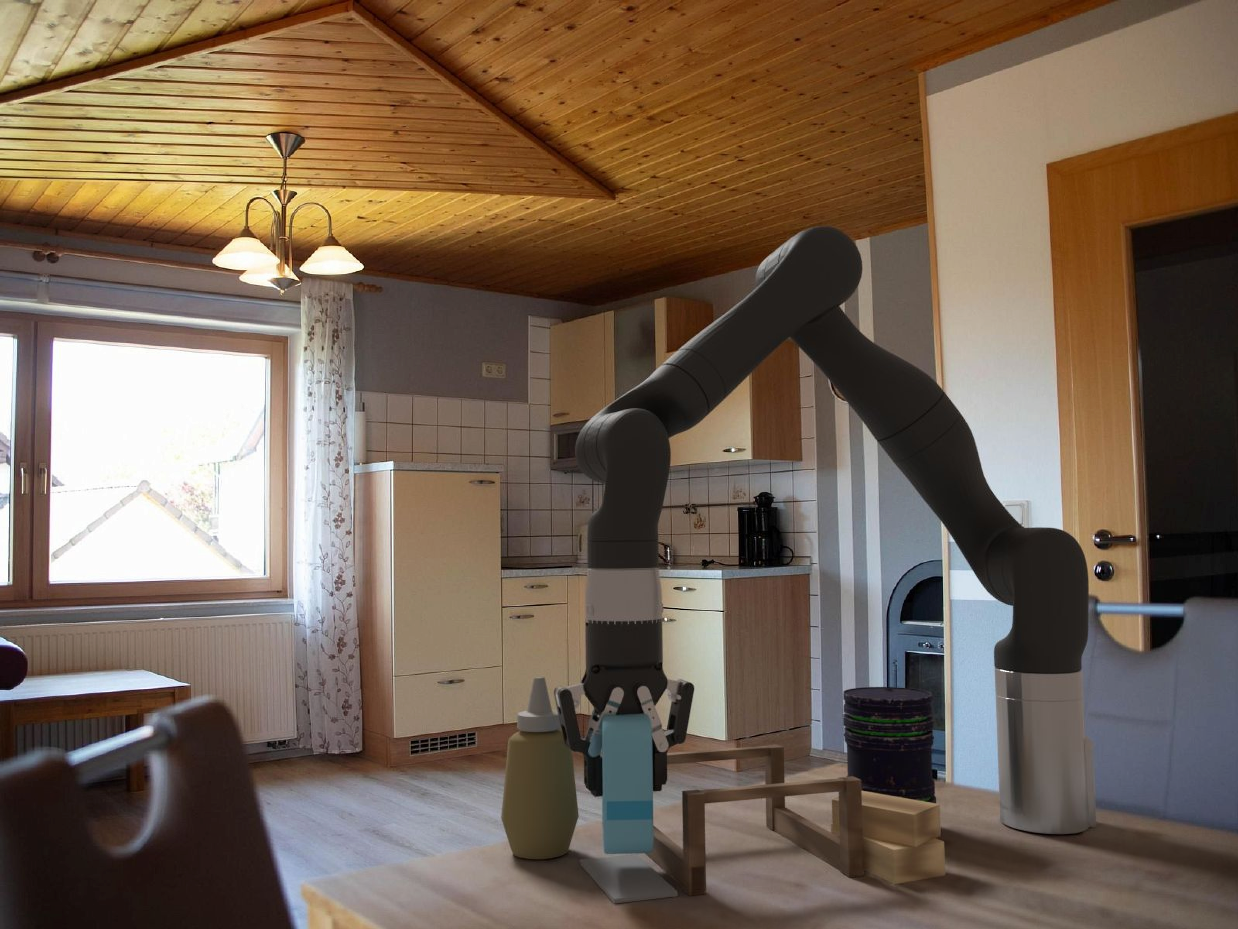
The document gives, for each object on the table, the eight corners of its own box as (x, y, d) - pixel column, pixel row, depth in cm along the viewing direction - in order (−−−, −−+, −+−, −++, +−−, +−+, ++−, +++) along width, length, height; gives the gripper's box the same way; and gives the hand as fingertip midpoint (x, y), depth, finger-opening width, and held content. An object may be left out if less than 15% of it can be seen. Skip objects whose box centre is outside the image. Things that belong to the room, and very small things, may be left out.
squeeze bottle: (590, 845, 110) (588, 674, 111) (561, 868, 102) (560, 684, 104) (520, 839, 113) (520, 672, 114) (487, 860, 105) (487, 681, 106)
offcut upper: (859, 819, 108) (858, 790, 108) (940, 835, 101) (939, 804, 102) (832, 830, 104) (831, 799, 104) (915, 847, 98) (914, 814, 98)
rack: (779, 825, 117) (777, 744, 118) (863, 875, 99) (861, 780, 100) (629, 840, 112) (628, 755, 112) (689, 896, 94) (688, 794, 95)
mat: (637, 858, 105) (637, 854, 105) (677, 896, 94) (677, 891, 94) (580, 864, 104) (580, 859, 104) (614, 903, 92) (613, 899, 92)
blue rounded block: (654, 858, 93) (652, 723, 94) (604, 859, 93) (602, 723, 94) (646, 822, 105) (644, 702, 106) (602, 822, 105) (600, 703, 106)
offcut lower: (879, 851, 108) (878, 817, 108) (945, 879, 99) (944, 841, 99) (831, 859, 106) (830, 824, 106) (894, 888, 97) (893, 850, 97)
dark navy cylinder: (935, 845, 109) (930, 701, 110) (840, 837, 112) (837, 697, 113) (938, 820, 118) (934, 688, 119) (851, 814, 121) (847, 685, 122)
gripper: (679, 610, 106) (682, 778, 105) (543, 614, 102) (544, 789, 101) (706, 615, 99) (709, 795, 98) (561, 620, 95) (562, 808, 94)
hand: (625, 791), depth 99 cm, fingers closed on blue rounded block, 5 cm apart
